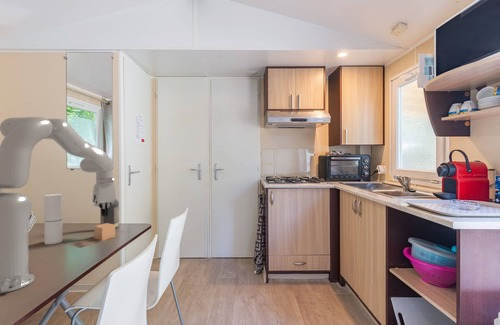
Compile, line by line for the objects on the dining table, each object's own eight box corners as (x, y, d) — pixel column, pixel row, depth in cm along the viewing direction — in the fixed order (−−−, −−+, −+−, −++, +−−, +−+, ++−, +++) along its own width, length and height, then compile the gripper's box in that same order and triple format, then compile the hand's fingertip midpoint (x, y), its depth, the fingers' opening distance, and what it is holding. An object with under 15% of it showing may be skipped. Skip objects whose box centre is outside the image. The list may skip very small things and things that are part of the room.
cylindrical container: (52, 247, 125) (52, 196, 125) (40, 246, 127) (40, 195, 126) (66, 243, 132) (65, 194, 132) (54, 242, 134) (54, 194, 133)
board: (108, 236, 143) (108, 233, 143) (119, 239, 139) (119, 236, 139) (68, 247, 126) (68, 244, 126) (80, 250, 121) (80, 247, 121)
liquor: (100, 233, 149) (99, 181, 149) (102, 229, 158) (102, 180, 157) (117, 231, 153) (117, 181, 152) (119, 227, 161) (118, 180, 161)
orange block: (107, 234, 141) (107, 223, 141) (115, 236, 138) (115, 224, 138) (94, 238, 135) (94, 226, 135) (102, 240, 132) (102, 227, 132)
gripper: (113, 179, 145) (113, 212, 145) (85, 182, 131) (86, 217, 132) (122, 180, 141) (122, 213, 141) (94, 182, 128) (94, 219, 128)
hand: (104, 215), depth 136 cm, fingers closed
